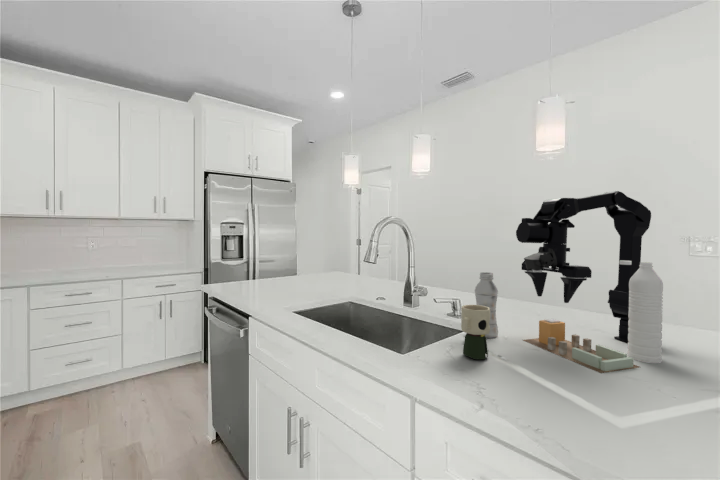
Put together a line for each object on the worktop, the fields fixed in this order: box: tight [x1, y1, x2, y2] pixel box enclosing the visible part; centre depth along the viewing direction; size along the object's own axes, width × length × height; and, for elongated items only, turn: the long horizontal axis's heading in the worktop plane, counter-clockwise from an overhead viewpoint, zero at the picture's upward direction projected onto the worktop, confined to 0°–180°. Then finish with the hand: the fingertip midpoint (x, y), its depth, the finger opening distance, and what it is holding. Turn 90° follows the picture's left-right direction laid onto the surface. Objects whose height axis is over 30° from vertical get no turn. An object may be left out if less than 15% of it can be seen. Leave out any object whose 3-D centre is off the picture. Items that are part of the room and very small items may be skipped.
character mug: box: [460, 304, 490, 360], centre depth 89 cm, size 11×7×13 cm, turn 133°
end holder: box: [572, 344, 634, 371], centre depth 82 cm, size 9×8×2 cm
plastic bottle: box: [474, 272, 499, 339], centre depth 104 cm, size 6×7×20 cm
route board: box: [522, 333, 640, 374], centre depth 89 cm, size 12×24×4 cm, turn 16°
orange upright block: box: [538, 318, 566, 345], centre depth 96 cm, size 5×4×6 cm
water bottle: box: [618, 260, 664, 364], centre depth 86 cm, size 9×6×25 cm
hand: (552, 299), depth 96 cm, fingers open, 9 cm apart
